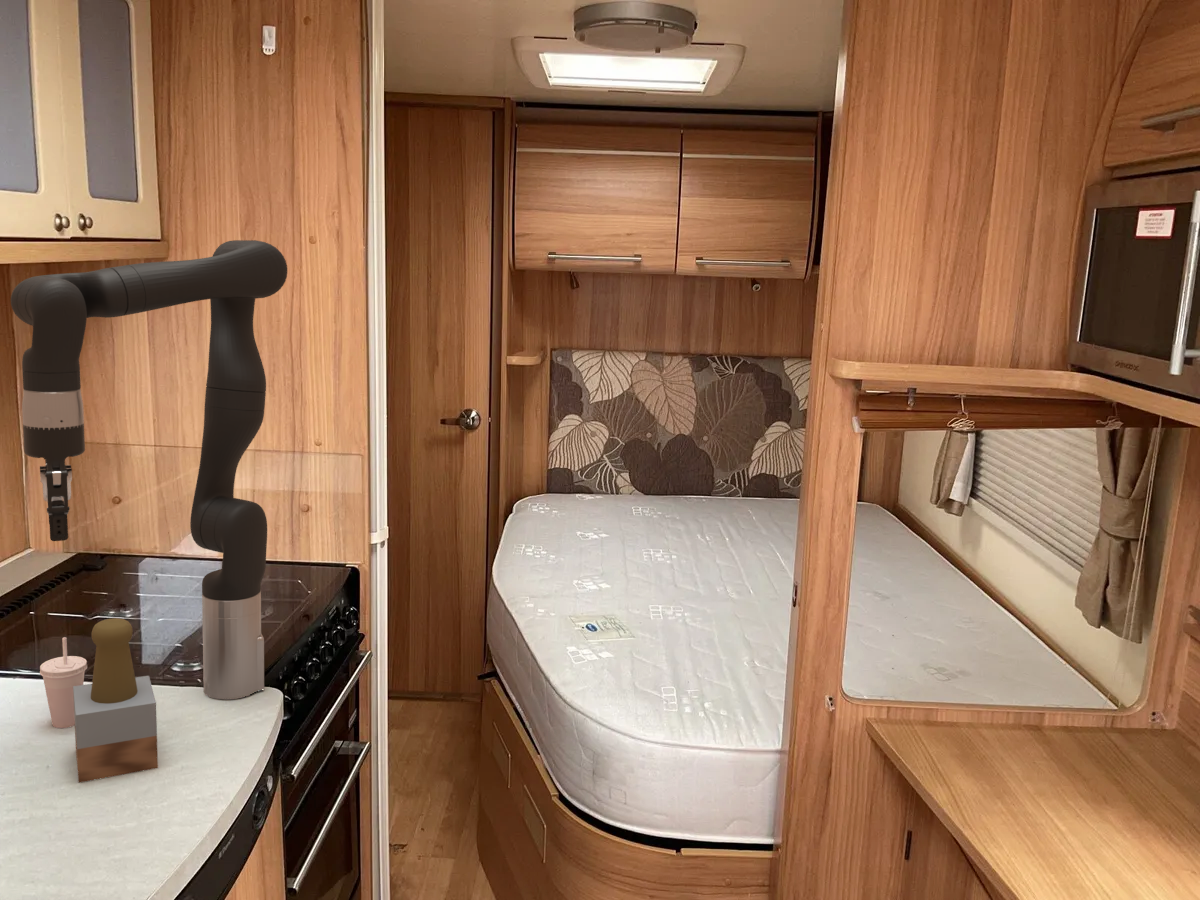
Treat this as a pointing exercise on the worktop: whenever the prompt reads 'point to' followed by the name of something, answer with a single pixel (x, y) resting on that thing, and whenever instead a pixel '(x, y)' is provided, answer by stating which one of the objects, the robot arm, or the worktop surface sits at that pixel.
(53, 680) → the smoothie
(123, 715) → the slate top block
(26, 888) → the worktop surface
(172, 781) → the worktop surface
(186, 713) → the worktop surface
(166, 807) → the worktop surface
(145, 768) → the walnut base block
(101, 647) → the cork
